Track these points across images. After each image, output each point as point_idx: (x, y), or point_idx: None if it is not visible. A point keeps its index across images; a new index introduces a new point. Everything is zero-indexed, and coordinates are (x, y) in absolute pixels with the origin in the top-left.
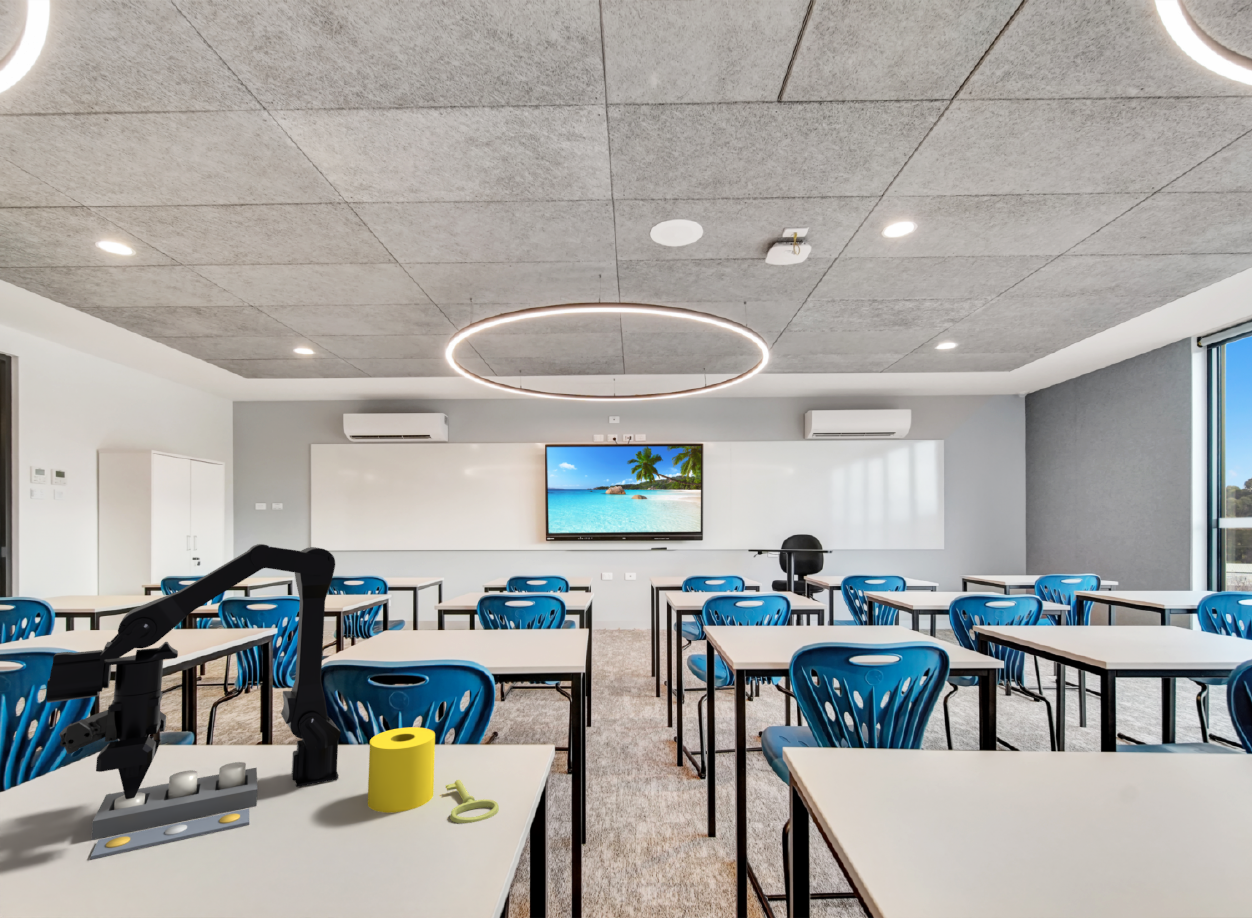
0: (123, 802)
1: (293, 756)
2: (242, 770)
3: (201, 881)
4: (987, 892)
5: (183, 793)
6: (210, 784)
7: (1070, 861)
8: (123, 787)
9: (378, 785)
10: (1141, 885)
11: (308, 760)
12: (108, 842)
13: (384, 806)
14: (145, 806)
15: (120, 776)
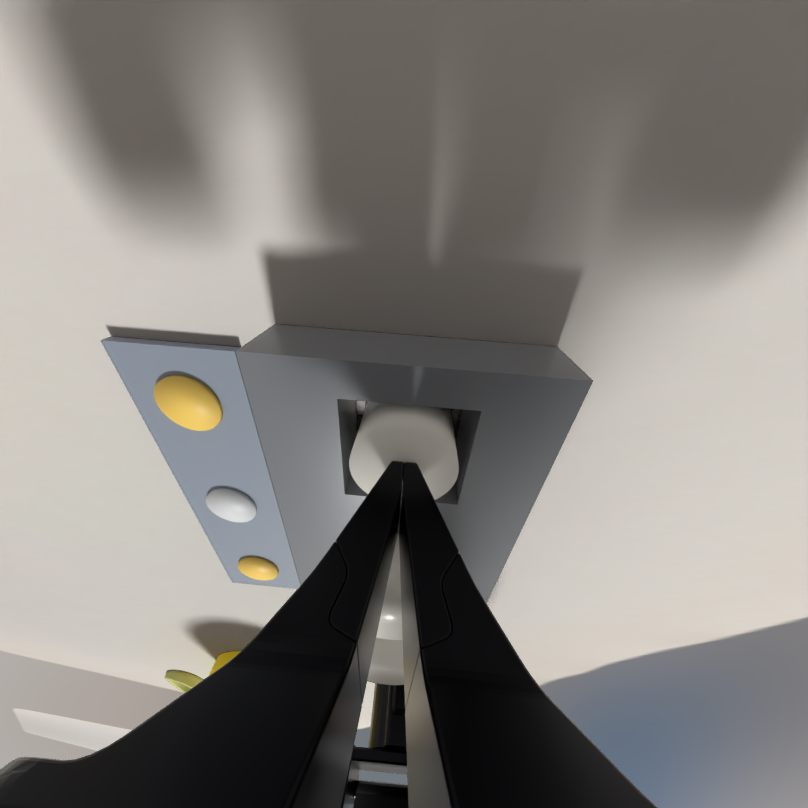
0: (356, 452)
1: (400, 706)
2: None
3: (3, 514)
4: (33, 720)
5: None
6: None
7: (67, 733)
8: (364, 501)
9: None
10: (43, 732)
11: (379, 699)
12: (185, 382)
13: (216, 664)
14: (320, 492)
15: (318, 564)
